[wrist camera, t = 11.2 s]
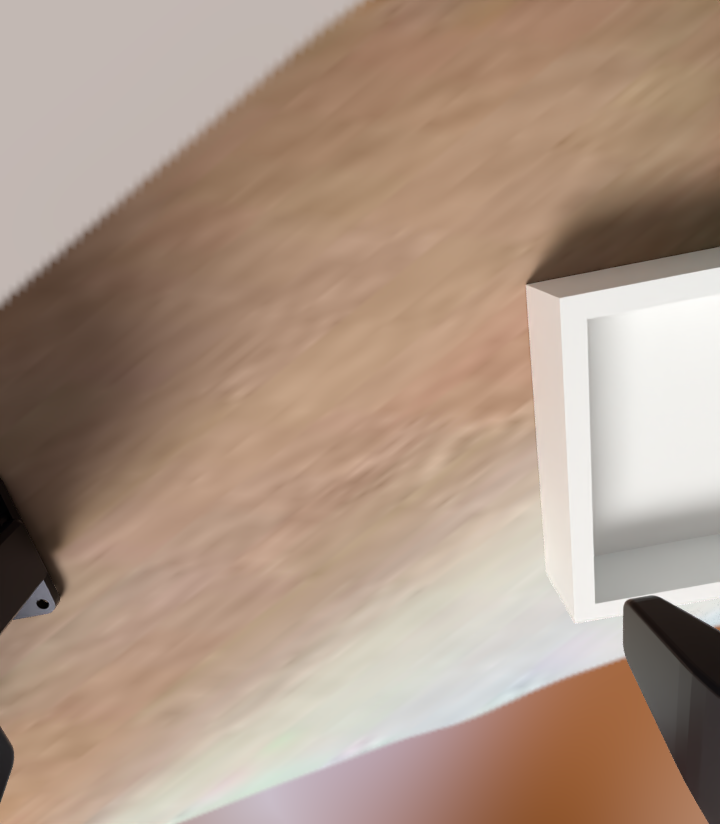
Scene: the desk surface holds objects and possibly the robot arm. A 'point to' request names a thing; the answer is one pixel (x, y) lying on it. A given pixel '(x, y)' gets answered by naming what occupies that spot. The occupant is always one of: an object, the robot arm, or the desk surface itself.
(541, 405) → the white tray
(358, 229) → the desk surface
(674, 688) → the robot arm
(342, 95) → the desk surface
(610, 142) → the desk surface
